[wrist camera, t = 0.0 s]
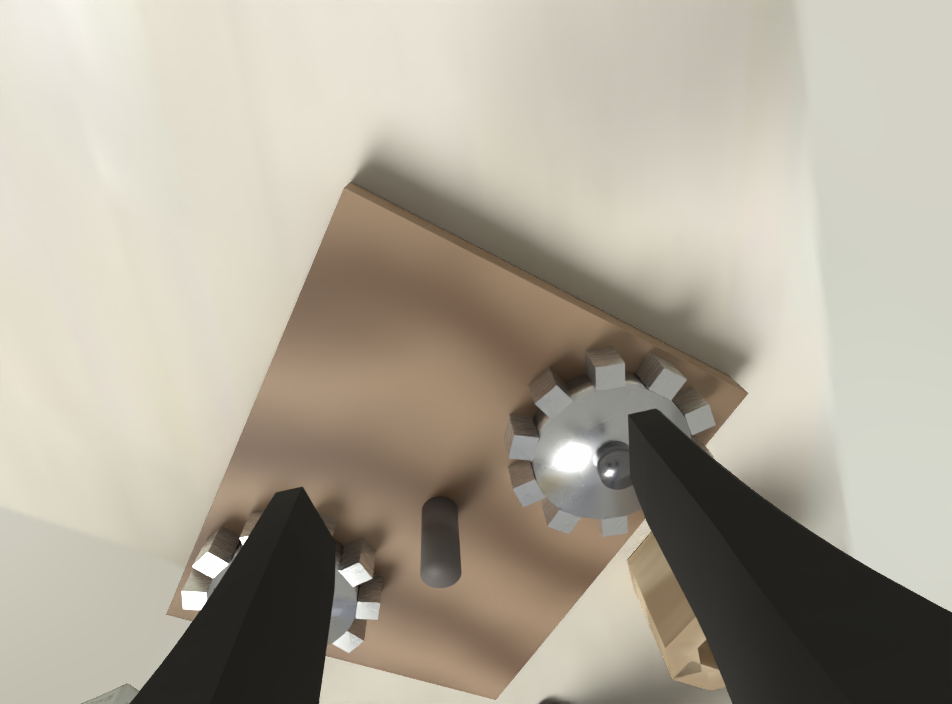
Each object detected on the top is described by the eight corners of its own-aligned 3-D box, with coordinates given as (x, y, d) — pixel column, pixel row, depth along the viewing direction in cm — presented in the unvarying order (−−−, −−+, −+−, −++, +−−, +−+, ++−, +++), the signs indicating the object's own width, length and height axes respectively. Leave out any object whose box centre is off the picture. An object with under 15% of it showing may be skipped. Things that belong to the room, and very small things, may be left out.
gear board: (492, 673, 31) (503, 770, 26) (180, 588, 26) (127, 688, 22) (730, 376, 23) (801, 441, 19) (350, 182, 19) (324, 206, 14)
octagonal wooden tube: (690, 609, 30) (736, 698, 25) (610, 581, 28) (643, 670, 24) (754, 541, 28) (816, 625, 23) (672, 507, 26) (721, 590, 22)
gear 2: (624, 534, 25) (643, 577, 23) (470, 475, 23) (474, 516, 20) (737, 395, 22) (772, 428, 20) (573, 313, 20) (591, 339, 18)
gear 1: (341, 655, 27) (332, 710, 25) (175, 612, 25) (147, 667, 22) (410, 543, 24) (408, 592, 22) (230, 483, 22) (204, 530, 20)
